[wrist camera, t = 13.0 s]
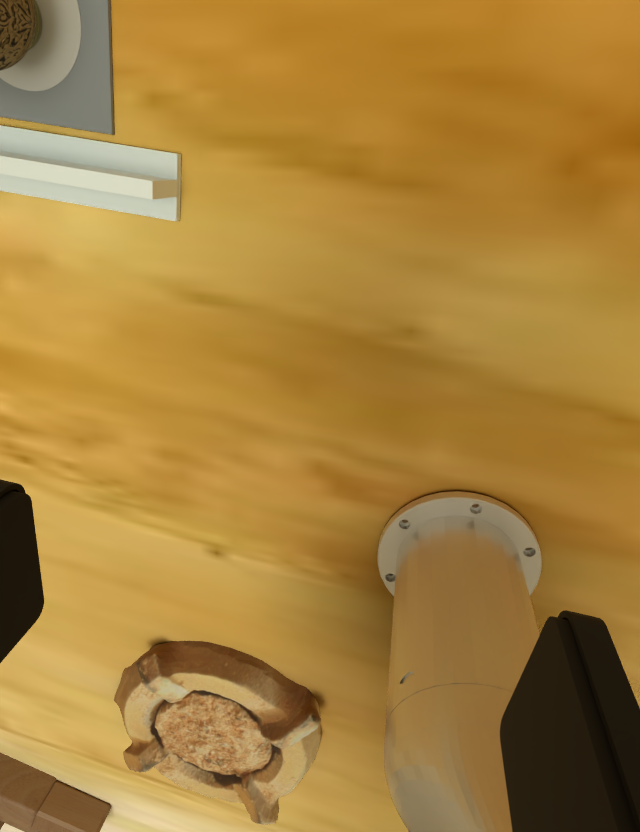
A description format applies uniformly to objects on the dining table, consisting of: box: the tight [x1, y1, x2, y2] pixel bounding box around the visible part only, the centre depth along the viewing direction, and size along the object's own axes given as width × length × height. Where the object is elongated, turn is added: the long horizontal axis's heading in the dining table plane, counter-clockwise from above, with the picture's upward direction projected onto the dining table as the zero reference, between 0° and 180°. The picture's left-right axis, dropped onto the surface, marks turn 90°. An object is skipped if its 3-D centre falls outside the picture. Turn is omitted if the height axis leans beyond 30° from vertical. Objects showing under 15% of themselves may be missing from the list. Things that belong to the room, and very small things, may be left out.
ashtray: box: [114, 641, 321, 825], centre depth 55 cm, size 24×24×5 cm
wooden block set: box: [0, 753, 111, 832], centre depth 70 cm, size 17×6×18 cm
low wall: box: [0, 125, 181, 221], centre depth 33 cm, size 4×14×4 cm, turn 82°
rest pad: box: [0, 0, 114, 135], centre depth 31 cm, size 11×11×1 cm
